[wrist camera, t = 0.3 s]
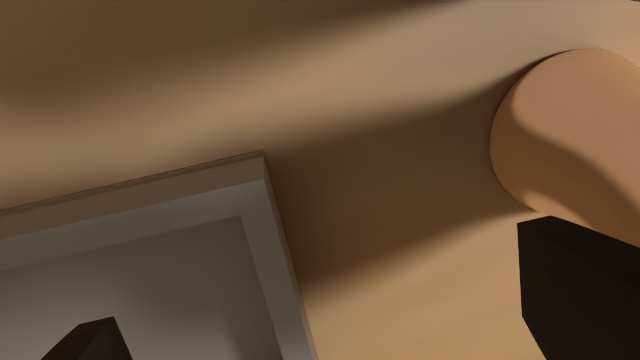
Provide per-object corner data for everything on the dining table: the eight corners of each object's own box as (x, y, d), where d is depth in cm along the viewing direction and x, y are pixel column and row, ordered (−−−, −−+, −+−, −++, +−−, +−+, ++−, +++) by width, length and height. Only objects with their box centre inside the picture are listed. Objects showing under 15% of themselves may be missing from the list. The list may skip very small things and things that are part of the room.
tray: (324, 383, 23) (332, 432, 21) (-42, 471, 23) (-76, 532, 20) (262, 149, 18) (263, 178, 16) (-195, 255, 18) (-262, 301, 16)
